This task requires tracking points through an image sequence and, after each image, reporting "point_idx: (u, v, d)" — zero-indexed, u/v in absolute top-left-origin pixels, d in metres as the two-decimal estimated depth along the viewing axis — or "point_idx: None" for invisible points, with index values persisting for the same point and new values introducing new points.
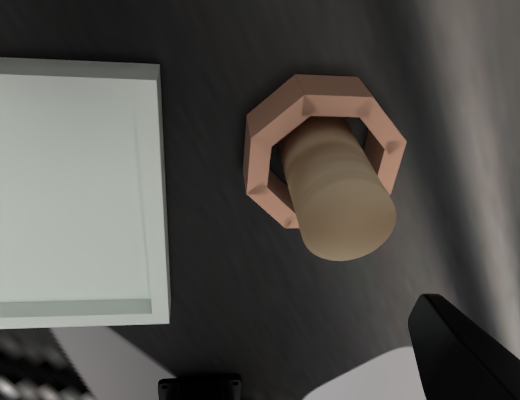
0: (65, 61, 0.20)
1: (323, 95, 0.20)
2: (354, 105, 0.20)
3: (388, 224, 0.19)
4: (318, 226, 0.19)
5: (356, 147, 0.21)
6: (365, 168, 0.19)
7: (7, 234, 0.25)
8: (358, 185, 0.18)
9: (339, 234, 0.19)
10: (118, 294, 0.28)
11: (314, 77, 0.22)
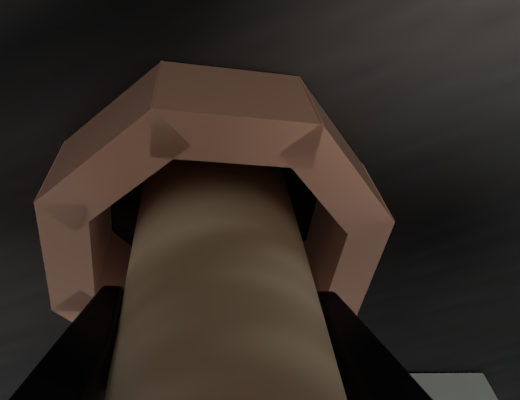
0: None
1: (47, 284, 0.10)
2: (61, 234, 0.09)
3: None
4: None
5: (136, 262, 0.09)
6: (116, 355, 0.07)
7: None
8: None
9: None
10: None
11: None
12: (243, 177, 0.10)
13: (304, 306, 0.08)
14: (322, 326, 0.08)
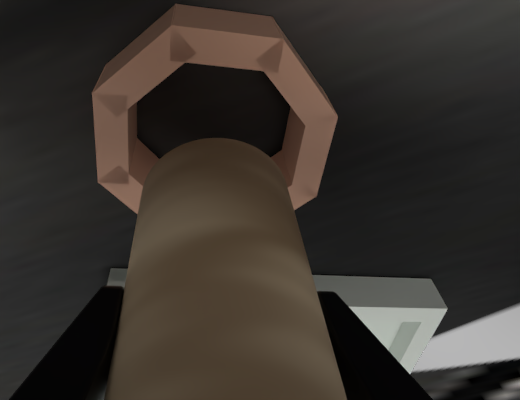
0: None
1: (96, 160, 0.15)
2: (108, 118, 0.14)
3: None
4: None
5: (136, 262, 0.09)
6: (116, 355, 0.07)
7: None
8: None
9: None
10: (390, 329, 0.24)
11: None
12: (243, 177, 0.10)
13: (304, 305, 0.08)
14: (322, 325, 0.08)
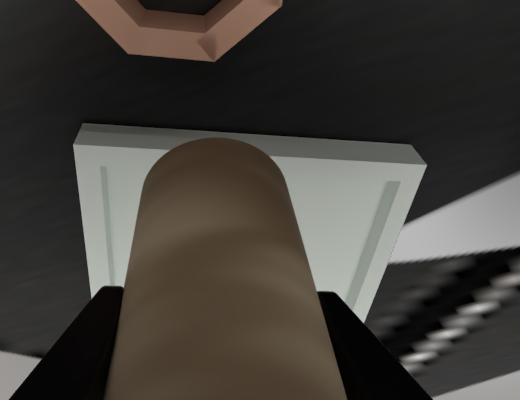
0: None
1: None
2: None
3: None
4: None
5: (135, 262, 0.09)
6: (116, 355, 0.07)
7: None
8: None
9: None
10: (371, 202, 0.24)
11: None
12: (243, 177, 0.10)
13: (304, 305, 0.08)
14: (322, 325, 0.08)
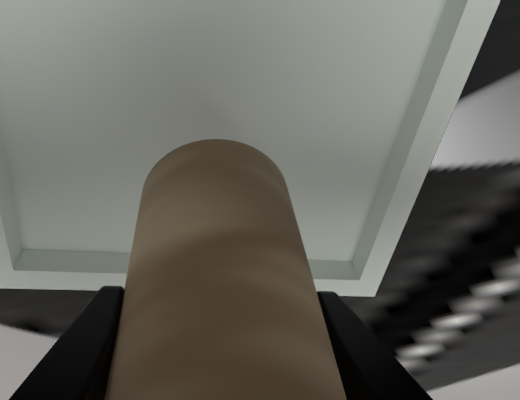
0: None
1: None
2: None
3: None
4: None
5: (136, 263, 0.09)
6: (116, 357, 0.07)
7: None
8: None
9: None
10: (416, 42, 0.15)
11: None
12: (243, 178, 0.10)
13: (304, 307, 0.08)
14: (322, 327, 0.08)
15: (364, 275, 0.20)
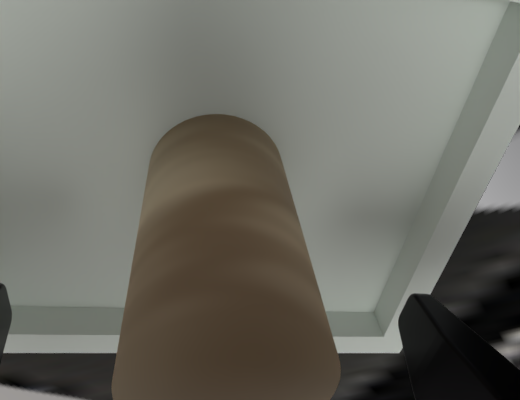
0: None
1: None
2: None
3: (236, 325, 0.07)
4: None
5: (146, 218, 0.10)
6: (131, 290, 0.08)
7: None
8: None
9: (252, 397, 0.08)
10: (460, 74, 0.13)
11: None
12: (241, 147, 0.11)
13: (294, 249, 0.09)
14: (309, 268, 0.09)
15: (389, 331, 0.17)
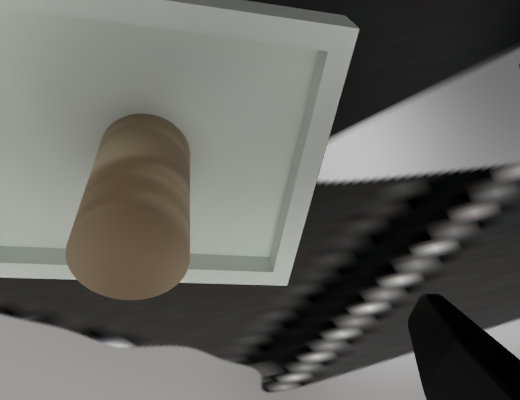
0: None
1: None
2: None
3: (127, 218, 0.14)
4: (130, 286, 0.16)
5: (91, 174, 0.17)
6: (78, 209, 0.16)
7: None
8: None
9: (143, 266, 0.15)
10: (298, 89, 0.20)
11: None
12: (152, 134, 0.18)
13: (170, 189, 0.16)
14: (180, 200, 0.16)
15: (276, 268, 0.24)
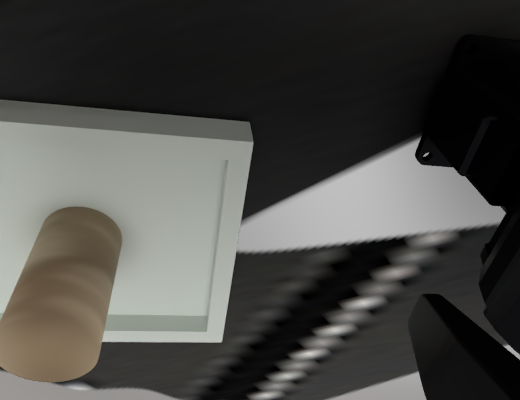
0: None
1: None
2: None
3: (38, 324, 0.17)
4: (50, 372, 0.19)
5: (22, 270, 0.20)
6: None
7: None
8: None
9: (59, 357, 0.18)
10: (212, 183, 0.22)
11: None
12: (80, 229, 0.21)
13: (84, 289, 0.19)
14: (94, 297, 0.19)
15: (209, 328, 0.27)
